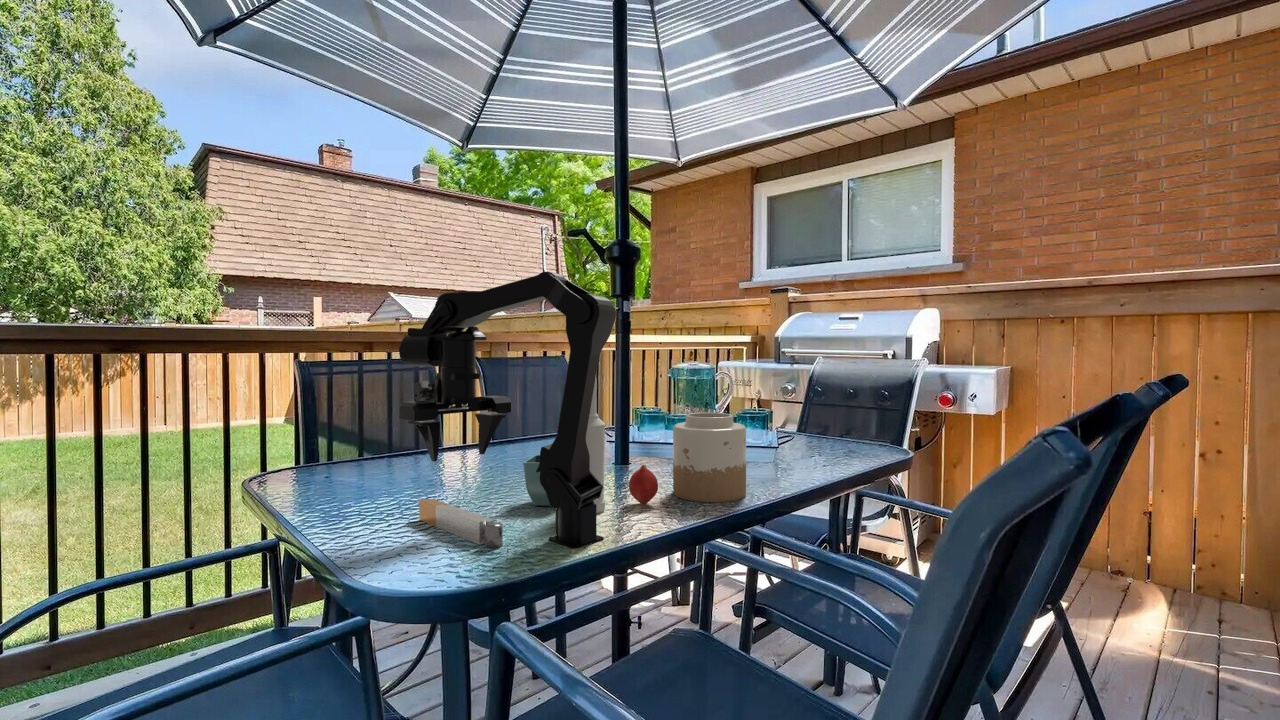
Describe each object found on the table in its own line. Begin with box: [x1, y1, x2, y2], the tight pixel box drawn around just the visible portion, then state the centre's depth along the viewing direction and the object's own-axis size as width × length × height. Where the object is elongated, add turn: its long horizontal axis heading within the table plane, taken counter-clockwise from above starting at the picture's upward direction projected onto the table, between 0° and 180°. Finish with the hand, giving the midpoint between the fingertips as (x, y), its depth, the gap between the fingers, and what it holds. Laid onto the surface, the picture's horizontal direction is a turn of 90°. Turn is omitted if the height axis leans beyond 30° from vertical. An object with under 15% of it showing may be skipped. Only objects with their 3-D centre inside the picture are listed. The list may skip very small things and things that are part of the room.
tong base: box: [429, 498, 504, 550], centre depth 104 cm, size 23×3×4 cm, turn 46°
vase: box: [672, 412, 747, 503], centre depth 131 cm, size 15×15×17 cm
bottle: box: [586, 378, 606, 515], centre depth 117 cm, size 5×5×25 cm
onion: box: [628, 464, 659, 506], centre depth 122 cm, size 6×6×8 cm
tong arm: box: [418, 498, 486, 546], centre depth 104 cm, size 20×1×4 cm, turn 46°
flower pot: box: [523, 454, 551, 507], centre depth 123 cm, size 9×9×9 cm
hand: (458, 457), depth 107 cm, fingers open, 9 cm apart
